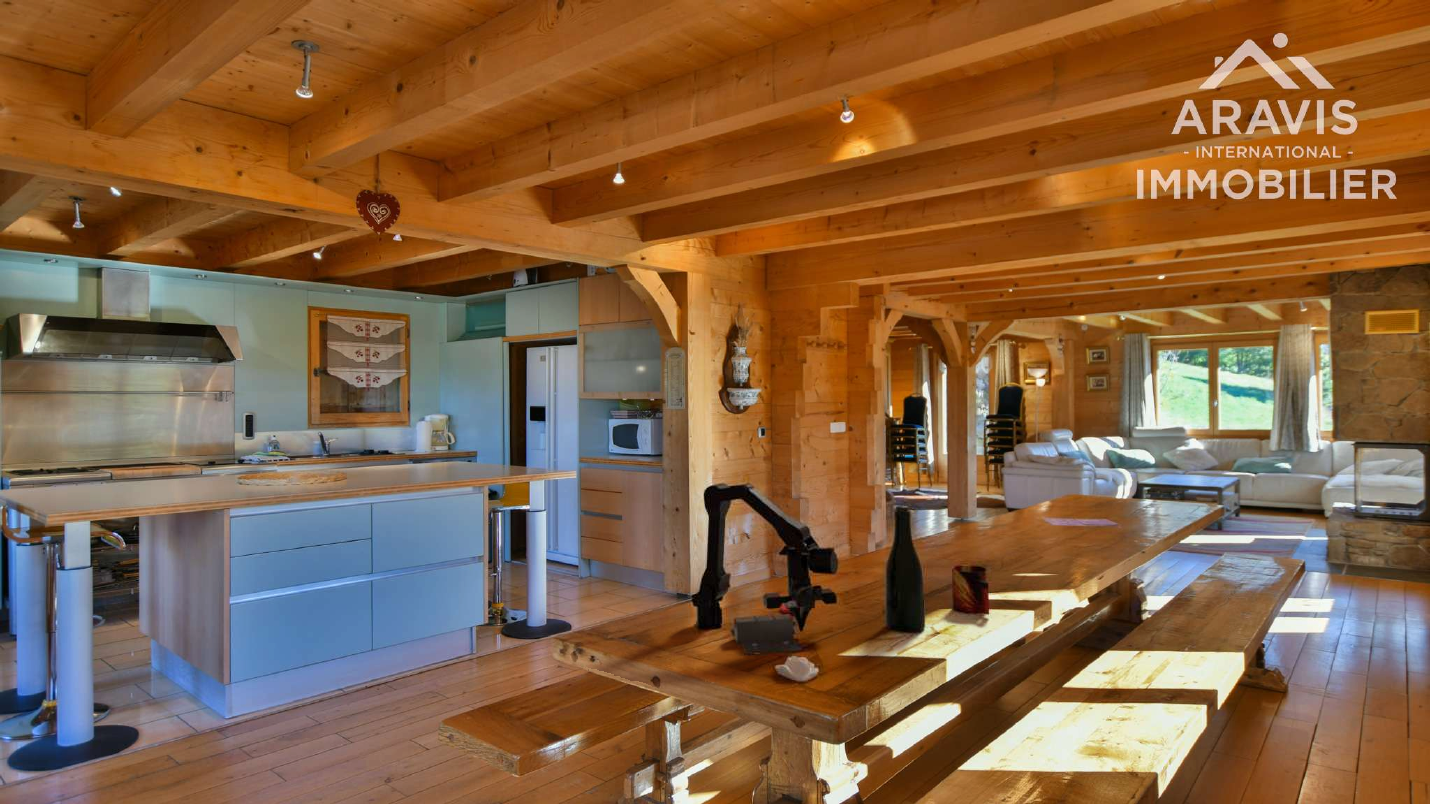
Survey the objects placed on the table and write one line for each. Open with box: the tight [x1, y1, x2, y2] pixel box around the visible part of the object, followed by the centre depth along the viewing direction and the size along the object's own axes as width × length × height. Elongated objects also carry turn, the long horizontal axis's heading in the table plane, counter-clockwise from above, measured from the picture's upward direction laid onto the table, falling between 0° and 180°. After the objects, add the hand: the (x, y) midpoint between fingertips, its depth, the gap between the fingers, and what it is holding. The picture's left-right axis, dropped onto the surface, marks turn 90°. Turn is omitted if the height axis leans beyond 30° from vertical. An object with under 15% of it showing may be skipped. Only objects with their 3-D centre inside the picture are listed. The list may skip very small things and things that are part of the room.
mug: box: [951, 564, 990, 615], centre depth 230 cm, size 10×14×12 cm
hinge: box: [731, 613, 803, 656], centre depth 208 cm, size 15×23×6 cm, turn 8°
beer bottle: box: [884, 505, 926, 633], centre depth 215 cm, size 10×10×33 cm
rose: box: [774, 655, 819, 682], centre depth 181 cm, size 10×4×10 cm
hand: (801, 631), depth 209 cm, fingers closed
